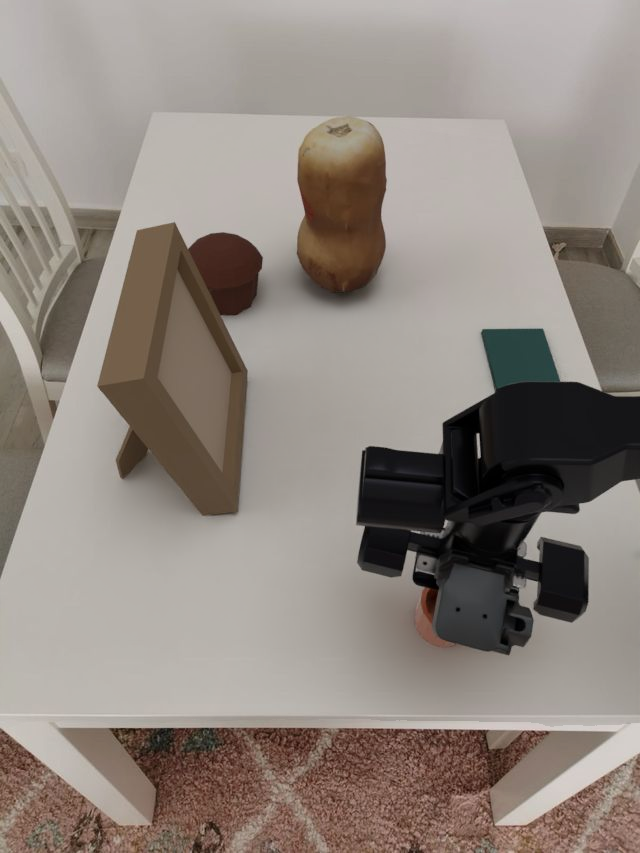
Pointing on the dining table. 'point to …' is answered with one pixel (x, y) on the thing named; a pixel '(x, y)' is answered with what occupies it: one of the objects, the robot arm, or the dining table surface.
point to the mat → (519, 356)
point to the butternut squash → (342, 203)
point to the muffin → (228, 270)
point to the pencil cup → (428, 617)
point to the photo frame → (176, 374)
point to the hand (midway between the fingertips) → (453, 593)
